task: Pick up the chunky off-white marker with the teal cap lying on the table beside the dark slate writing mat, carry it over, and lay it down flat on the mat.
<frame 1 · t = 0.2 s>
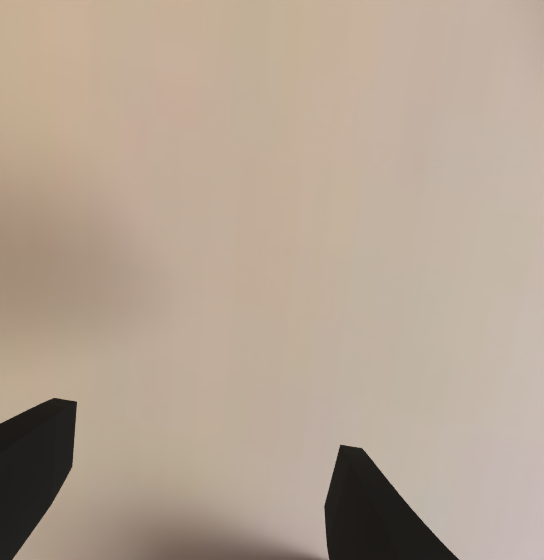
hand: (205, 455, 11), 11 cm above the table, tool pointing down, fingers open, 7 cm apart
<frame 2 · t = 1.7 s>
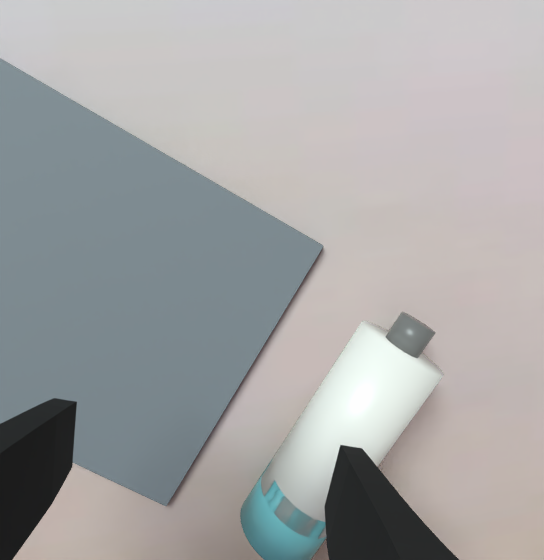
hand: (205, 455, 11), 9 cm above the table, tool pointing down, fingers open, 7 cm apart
writing mat: (54, 286, 19), on the table
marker: (334, 411, 20), on the table
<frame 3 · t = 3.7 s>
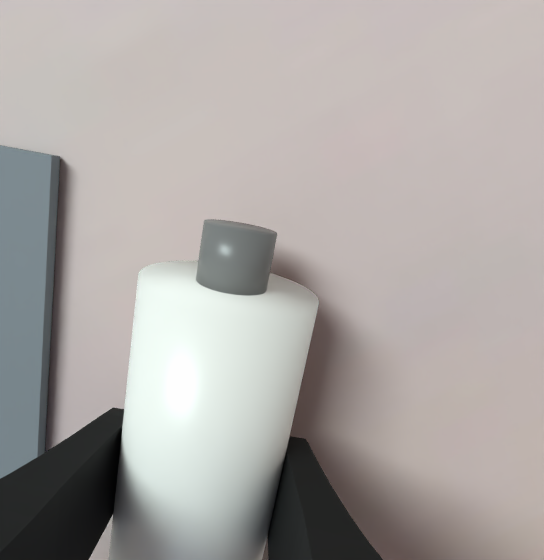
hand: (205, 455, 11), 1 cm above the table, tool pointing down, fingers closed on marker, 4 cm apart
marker: (213, 424, 12), on the table, touching gripper
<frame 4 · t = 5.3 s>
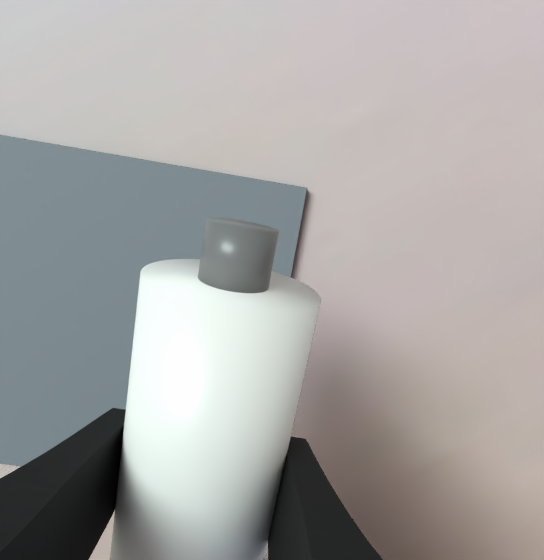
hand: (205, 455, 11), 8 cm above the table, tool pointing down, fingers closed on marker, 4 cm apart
writing mat: (67, 322, 19), on the table
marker: (214, 422, 12), point 7 cm above the table, touching gripper
when the fingers open (3 cm above the table, at t = 7.2 s): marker drops 1 cm, resting on writing mat.
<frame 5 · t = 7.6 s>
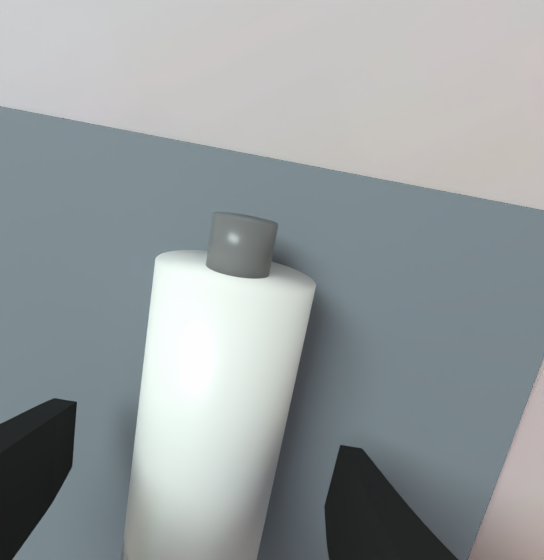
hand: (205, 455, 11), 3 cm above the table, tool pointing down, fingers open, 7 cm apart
writing mat: (219, 398, 13), on the table
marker: (218, 401, 13), resting on writing mat
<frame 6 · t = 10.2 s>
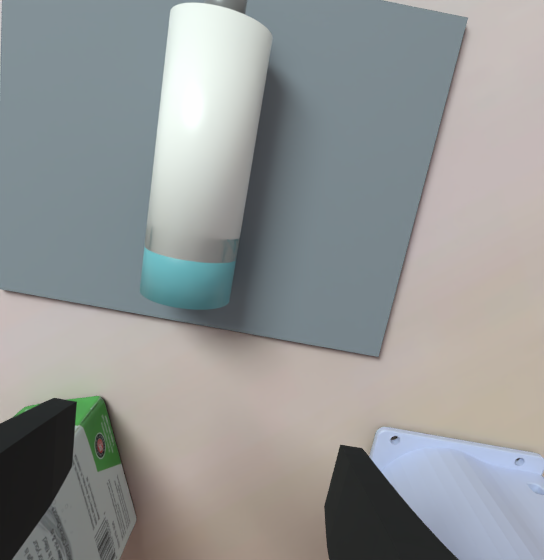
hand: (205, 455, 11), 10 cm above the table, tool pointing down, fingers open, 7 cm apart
writing mat: (213, 164, 19), on the table
ink box: (84, 463, 23), on the table
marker: (212, 162, 19), resting on writing mat
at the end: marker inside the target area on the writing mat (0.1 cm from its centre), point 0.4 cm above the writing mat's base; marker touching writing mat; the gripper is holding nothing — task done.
